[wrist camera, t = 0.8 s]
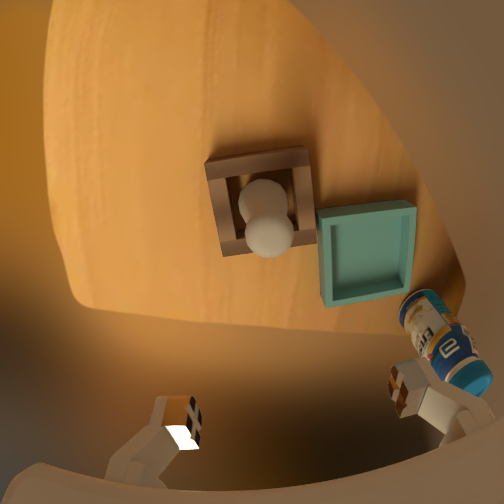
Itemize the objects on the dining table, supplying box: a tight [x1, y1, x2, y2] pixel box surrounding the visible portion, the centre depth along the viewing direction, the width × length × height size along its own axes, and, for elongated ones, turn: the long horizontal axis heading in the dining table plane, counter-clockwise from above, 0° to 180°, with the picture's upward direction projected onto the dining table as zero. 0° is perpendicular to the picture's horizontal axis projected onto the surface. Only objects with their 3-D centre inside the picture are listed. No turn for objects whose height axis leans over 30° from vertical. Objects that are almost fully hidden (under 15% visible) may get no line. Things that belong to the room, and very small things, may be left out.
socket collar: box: [204, 146, 317, 257], centre depth 36 cm, size 12×12×3 cm
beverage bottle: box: [399, 289, 493, 397], centre depth 37 cm, size 8×8×20 cm
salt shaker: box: [238, 179, 294, 258], centre depth 31 cm, size 6×6×13 cm
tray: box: [315, 199, 417, 308], centre depth 39 cm, size 13×13×4 cm
